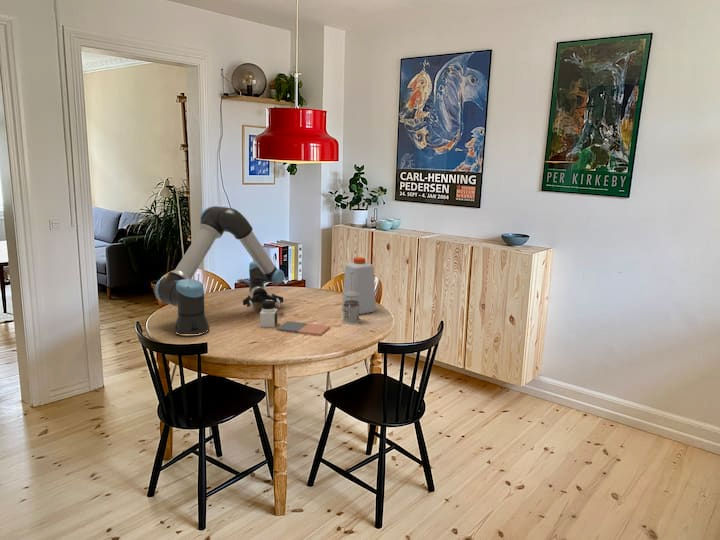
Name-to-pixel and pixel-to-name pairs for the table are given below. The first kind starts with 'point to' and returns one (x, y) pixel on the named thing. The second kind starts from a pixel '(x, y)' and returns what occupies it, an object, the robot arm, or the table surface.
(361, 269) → the plastic bottle
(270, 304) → the medicine bottle
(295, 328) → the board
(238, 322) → the table surface
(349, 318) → the french press
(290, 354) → the table surface
